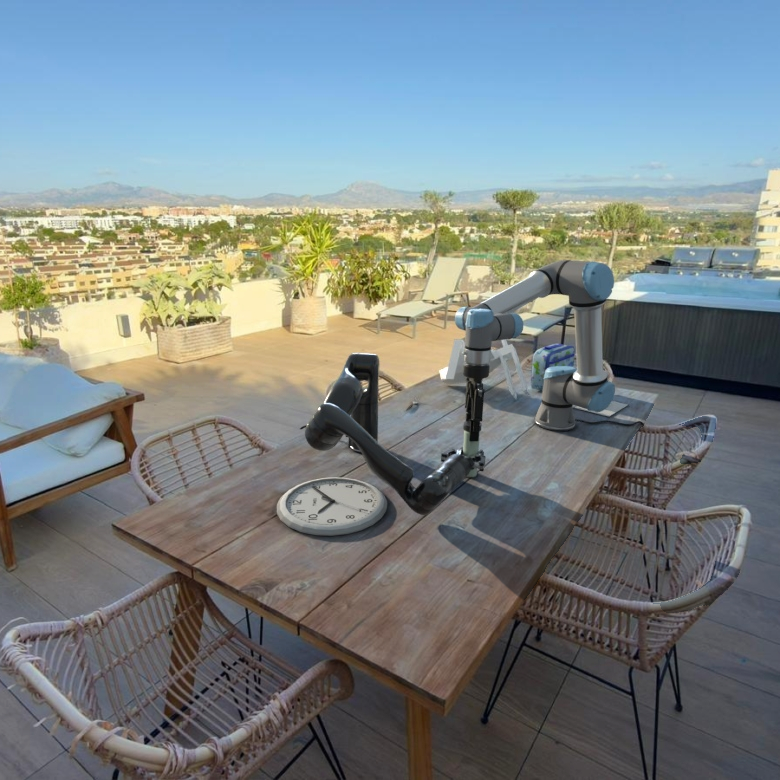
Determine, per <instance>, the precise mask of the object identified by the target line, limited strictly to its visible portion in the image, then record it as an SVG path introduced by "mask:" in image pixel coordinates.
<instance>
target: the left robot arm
mask: <svg viewBox="0 0 780 780" xmlns="http://www.w3.org/2000/svg"><path fill="white" fill-rule="evenodd" d="M380 362H381V361H380V358H379V356H378V354H376V353H364V352H363V353H361V352H353V353H351V354H349V355H348V357H347V358H346V360H345V363H344V364H343V367H342V369H341V372H340V374H339V375H338V377H337V378H336V379H335V381H334V383H333V384H332V385H331V387H330V388H329V390H328V392H327V394H326V396H325V398H324V400H323V403H321V404H320V405H319V406H318V407H317V409H316V410H315V412H314V413H313V415H312V416H311V418H310V419H309V421H307V423H306V425H303V426H301V427H299V430H303V429H304V438H305V440H306V442H307V444H308V445H309V446H310V448H313V449H314V450H316V451H319V452H326V451H330V450H332V449H333V448H334V447H335V446H336V445H337V444H339V442H340V441H341V439H342V437H343V436H345V438H348V449H351V450H352V451H353V452H356V453H361V455H362V456H363V459H364V461H365V463H366V465H367V467H368V468H369V470H370V472H371V473H372V474H373V475H374V476H375V477H376V478H378V479H379V480H380V481H382V482H383V483H384V484H386V485H387V486H389V487H390V488H392V489H393V490H394V491H395V492H396V493H397V494H398V496H399V497H400V498H401V499H402V500H403V501H404V503H405V504H406V505H407V506H408V508H409V509H410V510H411V511H413V512H414V513H416V514H417V515H422V516H428V515H430V514H432V512H433V511H434V510H435V509H436V508H437V507H438V506H439V505H440V504H441V503H442V502H443V501H444V500H445V499H446V497H447V496H448V495H449V494H450V493H452V491H453V490H454V489H455V488H456V487H457V486H459V485H460V484H461V483H462V482H463V481H464V480H465V479H466V478H467V477H466V476H467V475H468V474H469V472H470V471H471V470H473V469H475V468H477V470H479V472H484V471H485V465H486V458H487V457H486V455H485V451H484V450H483V449H479V450H478V453H477V454H475V455H474V454H472V455H469V456H464V455H463V446H461V447H460V448H458V449H457V450H456V449H455V448H451V449H448V450H446V451H444V452H441V454H440V462H441V463H440V464H439V465H438V467H437V468H435V470H434V471H433V472H432V473H430V474H429V475H427V476H426V477H425V478H424V479H423V480H422V481H421V482H420V483H419V484H418V485H417V487H415V486H414V485H413V483H412V480H413V478H414V475H415V472H414V469H413V467H411V466H409V465H408V464H406V463H405V462H404V461H402V460H401V459H399V458H398V457H397V456H395V455H394V454H393V453H391V452H390V451H388V450H387V449H386V448H385V447H384V446H382V445H381V444H380V443H379V383H380V382H379V381H380V366H381V364H380ZM361 382H367V385H365V386H363V385H362V383H361Z"/></svg>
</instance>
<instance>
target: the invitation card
mask: <svg viewBox="0 0 780 780" xmlns="http://www.w3.org/2000/svg"><path fill="white" fill-rule="evenodd" d="M628 406H629V404H627V403H623V402H618V401H614V400H612V401H611V403H610V405H609V406H608V407H607V408H606V409H605V410H603V411H601V412H595V411H589V410H588V409H585V408H582V407H579V406H576V405H575V406H574V407H573V409H575V410H581V411H584V412H587V413H593V414H596V415H600V416H604V417H608V418H609V417H611V416H613V415H614V414H616V413H617V412H619V411H621V410H623V409H624V408H626V407H628Z"/></svg>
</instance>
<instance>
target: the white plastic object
mask: <svg viewBox="0 0 780 780" xmlns="http://www.w3.org/2000/svg"><path fill="white" fill-rule="evenodd" d="M507 340H508V339H505V340H500V342H501V345H502V347H500V348H498V349H496V350H495V349H493V348H492V347H491V357H490V362H489V363H488V364H489V365H490V368H489V374H490V373H492V372H494V371H495V370H496V369H497V368H499V367H500V366H502V370H503V373H504V376H505V380H506V383H507V386H508V390H509V393H510V394H511V395H512V397H513V398H514V399H515V400H517V392H516V391H517V390H516V388H515V385H514V381H513V378H512V375H511V371H510V369H509V365H508V361H510V360H513V363H514V366H515V369H516V372H517V376H518V380H519V382H520V385H521V389H522V391H523V393H524V395H525V396H526V397H528V396H531V395H530V390H529V388H528V387H529V386H528V384H527V381H526V378H525V375H524V371H523V369H522V368H523V367H522V366H521V362H520V359H519V355H518V352H517V349H516V347H515V346H514V345H513V343H511V344H508V341H507ZM463 352H465V339H463V338H460V339H458V338H454V340H453V344H452V349H451V353H450V357H449V362H448V366H446V367H444V368H442V369H440V370H439V371H438V372H439V376H440V381H442V383H443V384H444V385H445V386H449V385H458V384H466V379H467V377H465V376H464V375H463V366H464V363H465V361H464V355H463ZM482 381H484V378H483V379H482Z"/></svg>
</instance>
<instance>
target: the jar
mask: <svg viewBox="0 0 780 780" xmlns="http://www.w3.org/2000/svg"><path fill="white" fill-rule="evenodd" d="M469 434H470V432H467V431H465V430H464V429H463V445H462V447H463V455H464V456H469V455H472V454H474V455H475V454H477V453H478V452H479V451H480V449H479V448H480V440H479V441H469ZM480 437H481V431H480V432H479V438H480ZM477 474H478V468H475V469H473V470H471V471H470V472H469V474H468V475H467V476H466V477H465V478H475V477H476V476H477Z"/></svg>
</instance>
